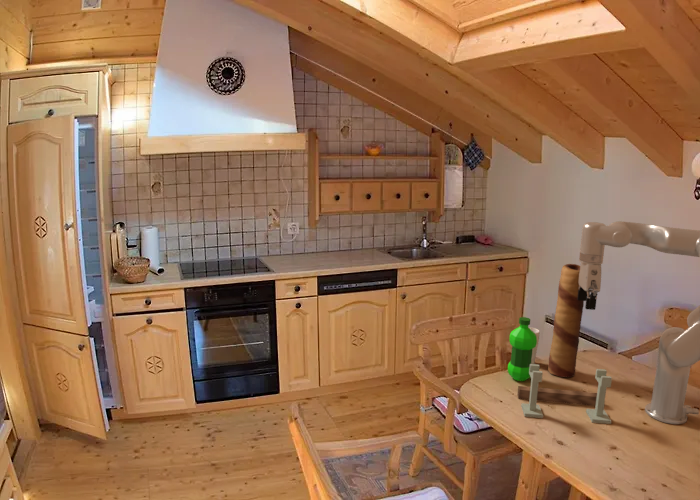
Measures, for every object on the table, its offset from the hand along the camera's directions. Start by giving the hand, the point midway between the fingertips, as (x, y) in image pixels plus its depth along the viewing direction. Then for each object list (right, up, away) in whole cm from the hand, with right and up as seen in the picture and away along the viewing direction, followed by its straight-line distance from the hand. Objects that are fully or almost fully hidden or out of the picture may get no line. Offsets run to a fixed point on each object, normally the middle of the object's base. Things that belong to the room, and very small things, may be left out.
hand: (586, 304), depth 184 cm
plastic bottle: (-16, -32, +22) cm, 42 cm away
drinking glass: (-8, -29, +36) cm, 47 cm away
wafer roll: (+3, -31, +28) cm, 41 cm away
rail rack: (-9, -38, -4) cm, 39 cm away
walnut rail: (-8, -36, +5) cm, 37 cm away
